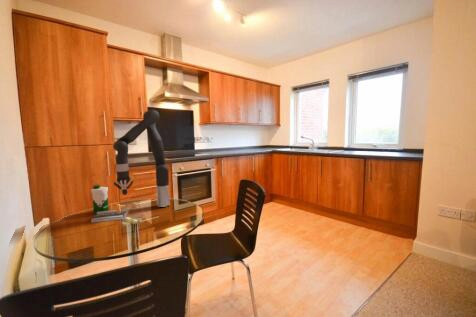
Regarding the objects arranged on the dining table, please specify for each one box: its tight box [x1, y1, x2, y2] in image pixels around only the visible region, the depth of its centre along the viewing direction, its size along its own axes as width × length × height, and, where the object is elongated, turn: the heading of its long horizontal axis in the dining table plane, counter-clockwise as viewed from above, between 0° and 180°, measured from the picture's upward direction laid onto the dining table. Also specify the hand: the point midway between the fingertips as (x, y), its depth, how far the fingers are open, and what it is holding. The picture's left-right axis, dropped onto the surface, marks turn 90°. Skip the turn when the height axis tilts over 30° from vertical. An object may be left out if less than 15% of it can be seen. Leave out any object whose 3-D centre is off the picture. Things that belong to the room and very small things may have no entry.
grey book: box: [91, 208, 128, 220], centre depth 147 cm, size 19×13×2 cm
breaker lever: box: [115, 203, 123, 215], centre depth 149 cm, size 4×3×6 cm
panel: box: [90, 209, 130, 224], centre depth 148 cm, size 20×13×2 cm, turn 107°
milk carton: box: [90, 184, 110, 215], centre depth 156 cm, size 9×9×20 cm
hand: (125, 194), depth 149 cm, fingers closed
